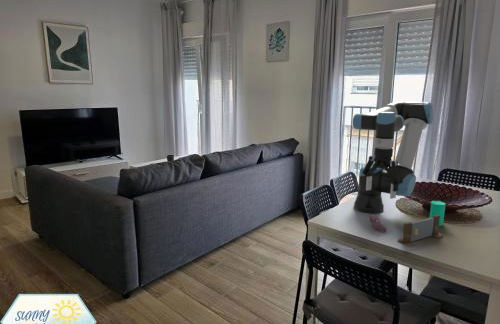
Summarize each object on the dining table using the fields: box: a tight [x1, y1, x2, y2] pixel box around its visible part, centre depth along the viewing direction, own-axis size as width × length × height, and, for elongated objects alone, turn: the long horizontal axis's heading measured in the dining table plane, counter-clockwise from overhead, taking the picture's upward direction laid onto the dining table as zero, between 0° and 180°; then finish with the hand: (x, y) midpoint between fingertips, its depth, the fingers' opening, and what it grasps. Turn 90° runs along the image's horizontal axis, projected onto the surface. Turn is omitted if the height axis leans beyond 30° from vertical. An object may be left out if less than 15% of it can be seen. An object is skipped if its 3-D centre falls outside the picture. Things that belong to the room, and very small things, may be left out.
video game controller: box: [368, 214, 387, 233], centre depth 155 cm, size 10×5×7 cm, turn 178°
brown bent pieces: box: [397, 215, 444, 248], centre depth 143 cm, size 6×21×9 cm, turn 116°
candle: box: [429, 199, 446, 227], centre depth 159 cm, size 6×6×12 cm
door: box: [410, 217, 435, 242], centre depth 143 cm, size 2×14×8 cm, turn 116°
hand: (380, 193), depth 151 cm, fingers open, 13 cm apart
